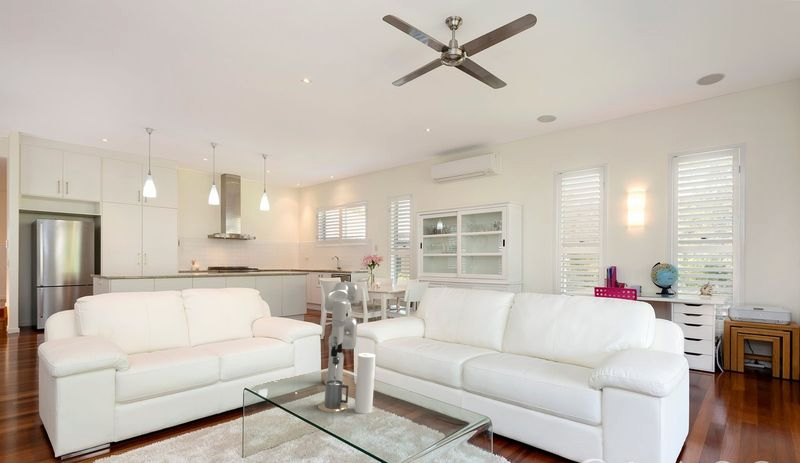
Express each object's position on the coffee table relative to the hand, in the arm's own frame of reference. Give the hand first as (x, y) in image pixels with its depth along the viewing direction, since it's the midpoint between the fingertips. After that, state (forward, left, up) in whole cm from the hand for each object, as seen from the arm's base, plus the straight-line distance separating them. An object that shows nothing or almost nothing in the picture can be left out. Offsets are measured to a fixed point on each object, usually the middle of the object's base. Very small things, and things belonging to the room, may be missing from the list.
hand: (336, 354), depth 230 cm
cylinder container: (0, +17, -29) cm, 33 cm away
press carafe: (0, 0, -28) cm, 28 cm away
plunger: (0, 0, -17) cm, 17 cm away
